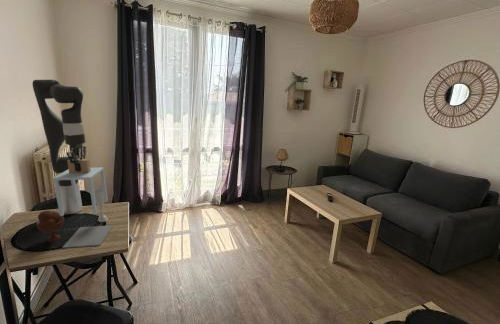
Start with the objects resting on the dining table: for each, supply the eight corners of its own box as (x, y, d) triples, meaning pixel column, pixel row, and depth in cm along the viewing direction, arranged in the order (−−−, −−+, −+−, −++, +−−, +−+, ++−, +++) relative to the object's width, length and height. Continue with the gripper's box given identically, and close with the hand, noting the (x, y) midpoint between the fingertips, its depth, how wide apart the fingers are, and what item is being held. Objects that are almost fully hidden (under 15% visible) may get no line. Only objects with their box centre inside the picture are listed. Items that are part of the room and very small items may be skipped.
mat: (80, 228, 133) (80, 227, 133) (113, 226, 136) (113, 225, 136) (62, 248, 116) (62, 247, 116) (100, 245, 119) (100, 244, 118)
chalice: (92, 221, 140) (87, 191, 135) (102, 216, 146) (98, 187, 141) (102, 223, 138) (98, 193, 133) (112, 218, 144) (109, 188, 139)
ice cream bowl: (53, 246, 117) (47, 217, 113) (33, 243, 119) (27, 214, 115) (73, 234, 127) (68, 207, 123) (54, 231, 129) (49, 204, 125)
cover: (75, 202, 128) (68, 156, 121) (107, 200, 130) (102, 155, 124) (59, 215, 113) (50, 164, 107) (96, 214, 116) (89, 164, 110)
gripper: (72, 130, 118) (77, 166, 123) (56, 135, 105) (62, 175, 109) (90, 130, 119) (94, 165, 124) (76, 135, 106) (81, 174, 111)
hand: (79, 169), depth 117 cm, fingers closed on cover, 2 cm apart
